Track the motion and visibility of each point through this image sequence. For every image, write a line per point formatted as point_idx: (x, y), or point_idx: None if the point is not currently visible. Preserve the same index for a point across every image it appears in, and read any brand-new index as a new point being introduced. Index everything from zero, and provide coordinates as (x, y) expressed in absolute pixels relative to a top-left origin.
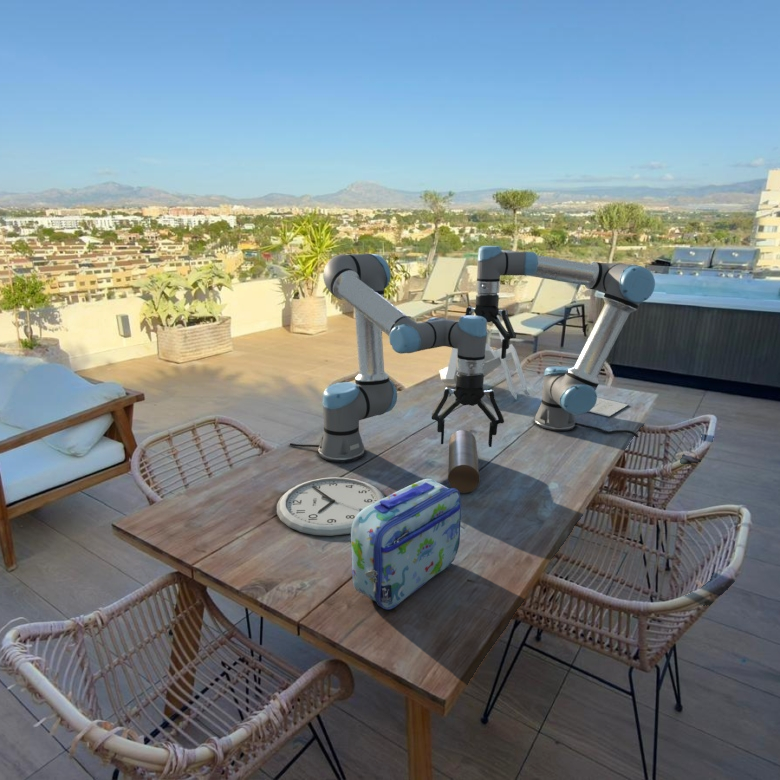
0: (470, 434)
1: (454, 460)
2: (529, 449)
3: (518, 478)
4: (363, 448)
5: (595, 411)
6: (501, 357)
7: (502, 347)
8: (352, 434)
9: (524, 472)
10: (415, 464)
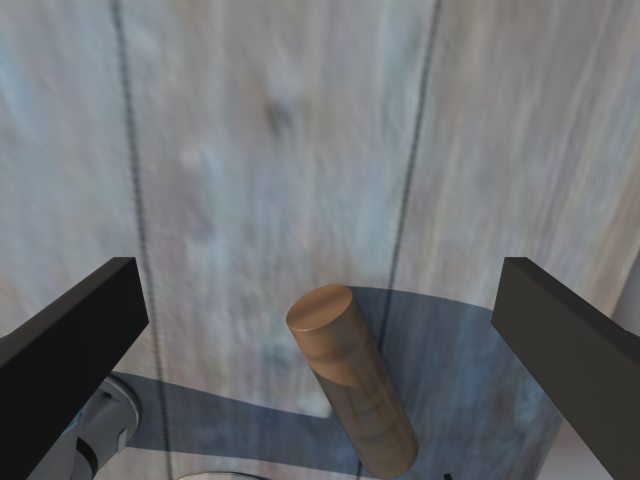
0: (344, 328)
1: (363, 455)
2: (470, 163)
3: (467, 329)
4: (126, 404)
5: None
6: (498, 329)
7: (565, 406)
8: (98, 466)
9: (475, 298)
10: (252, 376)
